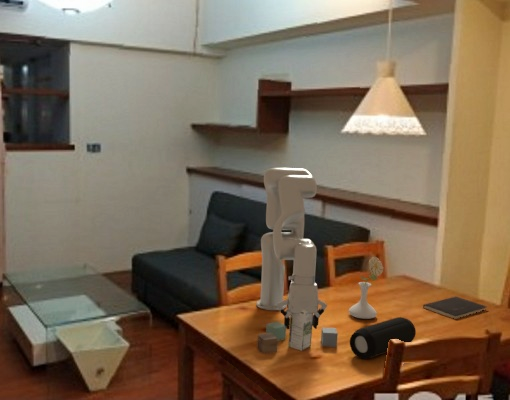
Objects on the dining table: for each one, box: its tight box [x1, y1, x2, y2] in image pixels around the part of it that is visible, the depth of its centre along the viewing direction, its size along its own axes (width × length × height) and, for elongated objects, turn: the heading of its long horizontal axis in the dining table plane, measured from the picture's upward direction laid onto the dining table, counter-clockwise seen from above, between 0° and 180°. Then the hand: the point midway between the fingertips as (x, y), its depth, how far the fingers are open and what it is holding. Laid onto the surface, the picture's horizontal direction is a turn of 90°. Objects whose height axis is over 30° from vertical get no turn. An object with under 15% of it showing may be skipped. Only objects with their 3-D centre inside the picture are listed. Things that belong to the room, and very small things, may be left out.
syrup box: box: [288, 310, 314, 351], centre depth 183 cm, size 6×6×14 cm
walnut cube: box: [256, 332, 278, 355], centre depth 180 cm, size 5×5×5 cm
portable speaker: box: [349, 316, 417, 360], centre depth 183 cm, size 26×10×10 cm, turn 128°
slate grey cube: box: [320, 327, 338, 348], centre depth 188 cm, size 5×5×5 cm
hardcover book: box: [422, 296, 488, 320], centre depth 231 cm, size 16×23×2 cm
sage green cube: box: [265, 321, 287, 342], centre depth 190 cm, size 5×5×5 cm
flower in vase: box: [348, 256, 384, 320], centre depth 215 cm, size 13×11×25 cm
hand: (301, 327), depth 183 cm, fingers open, 9 cm apart
